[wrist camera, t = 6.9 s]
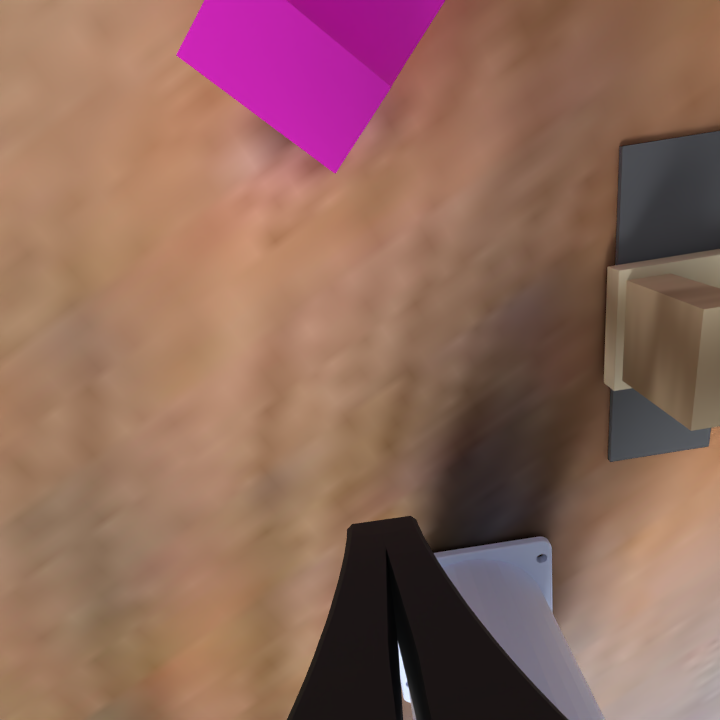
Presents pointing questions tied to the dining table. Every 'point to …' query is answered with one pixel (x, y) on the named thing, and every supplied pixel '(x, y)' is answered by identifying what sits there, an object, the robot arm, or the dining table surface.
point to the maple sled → (667, 334)
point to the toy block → (308, 62)
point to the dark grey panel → (659, 240)
